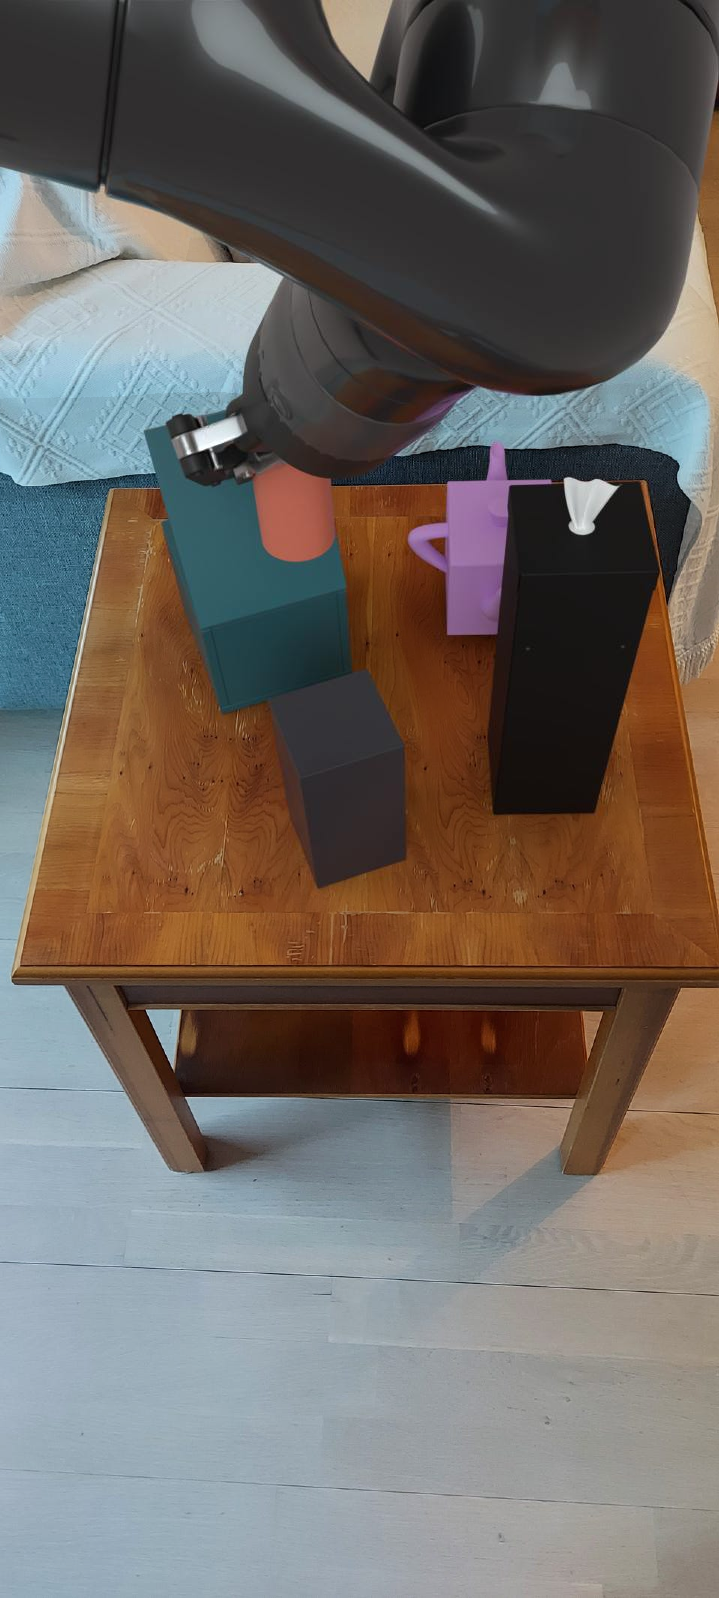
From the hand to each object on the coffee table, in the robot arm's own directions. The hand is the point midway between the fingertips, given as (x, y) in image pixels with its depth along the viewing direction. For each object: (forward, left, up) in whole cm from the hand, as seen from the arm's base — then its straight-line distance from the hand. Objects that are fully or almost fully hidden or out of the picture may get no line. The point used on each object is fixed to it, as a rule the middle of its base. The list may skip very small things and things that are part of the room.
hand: (277, 451), depth 54 cm
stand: (0, -6, -30) cm, 31 cm away
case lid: (0, +12, -14) cm, 18 cm away
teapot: (+21, +12, -30) cm, 39 cm away
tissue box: (+16, -6, -30) cm, 35 cm away
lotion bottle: (0, -2, -4) cm, 5 cm away
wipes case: (0, +16, -30) cm, 34 cm away
